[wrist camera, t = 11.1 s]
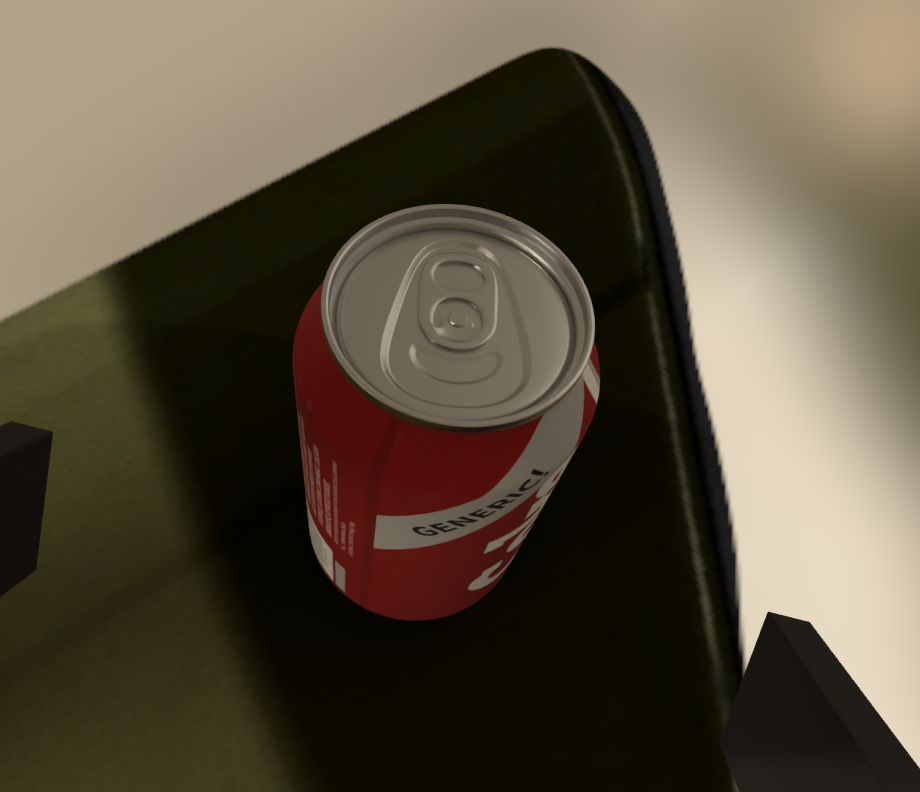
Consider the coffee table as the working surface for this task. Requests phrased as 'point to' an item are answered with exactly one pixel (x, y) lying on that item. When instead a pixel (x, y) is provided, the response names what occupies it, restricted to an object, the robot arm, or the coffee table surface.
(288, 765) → the coffee table surface
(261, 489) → the coffee table surface
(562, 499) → the coffee table surface
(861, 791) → the robot arm
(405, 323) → the soda can
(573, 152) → the coffee table surface
